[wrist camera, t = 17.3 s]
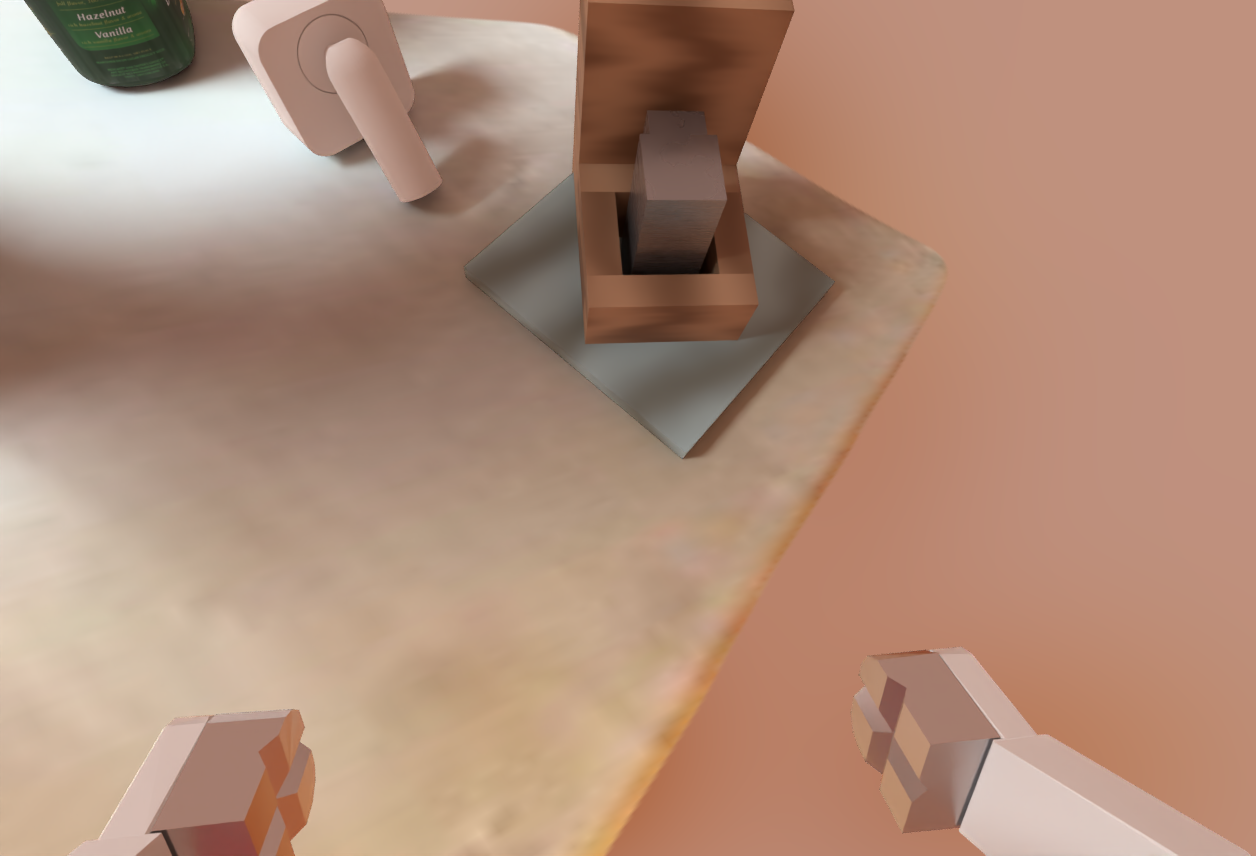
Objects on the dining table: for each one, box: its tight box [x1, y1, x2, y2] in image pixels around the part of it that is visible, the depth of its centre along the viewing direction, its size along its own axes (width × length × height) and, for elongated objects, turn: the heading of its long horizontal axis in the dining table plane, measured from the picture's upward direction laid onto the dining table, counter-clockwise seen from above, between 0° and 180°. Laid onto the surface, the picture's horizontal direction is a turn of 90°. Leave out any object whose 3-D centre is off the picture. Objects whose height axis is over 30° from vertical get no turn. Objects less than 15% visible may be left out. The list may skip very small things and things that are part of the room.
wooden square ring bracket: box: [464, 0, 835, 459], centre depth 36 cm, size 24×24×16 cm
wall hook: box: [232, 0, 442, 202], centre depth 41 cm, size 8×10×10 cm
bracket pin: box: [621, 110, 727, 275], centre depth 38 cm, size 4×6×10 cm
